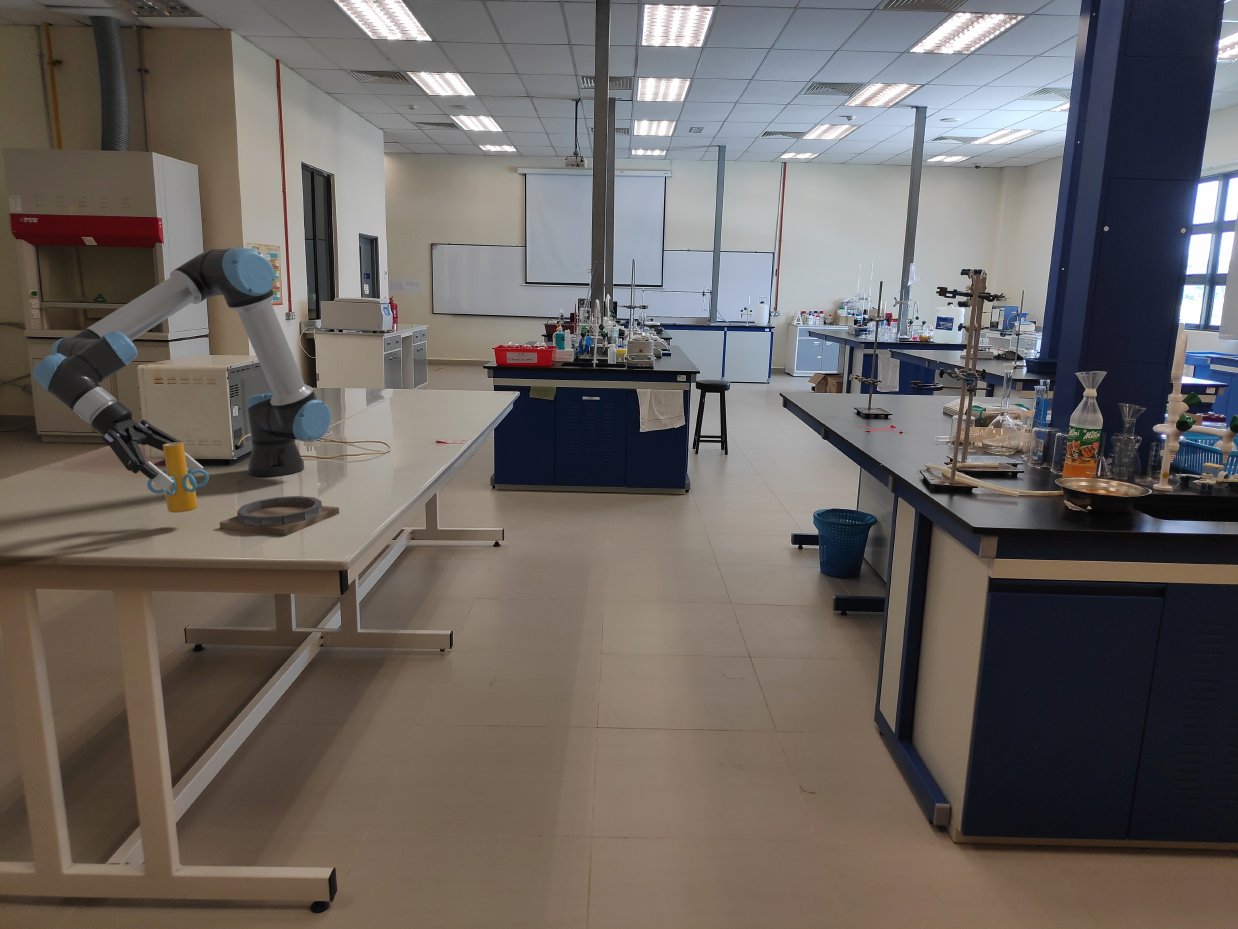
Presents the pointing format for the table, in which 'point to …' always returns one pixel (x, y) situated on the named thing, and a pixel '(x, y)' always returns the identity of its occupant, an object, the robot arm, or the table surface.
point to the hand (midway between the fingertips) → (185, 479)
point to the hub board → (279, 527)
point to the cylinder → (179, 480)
